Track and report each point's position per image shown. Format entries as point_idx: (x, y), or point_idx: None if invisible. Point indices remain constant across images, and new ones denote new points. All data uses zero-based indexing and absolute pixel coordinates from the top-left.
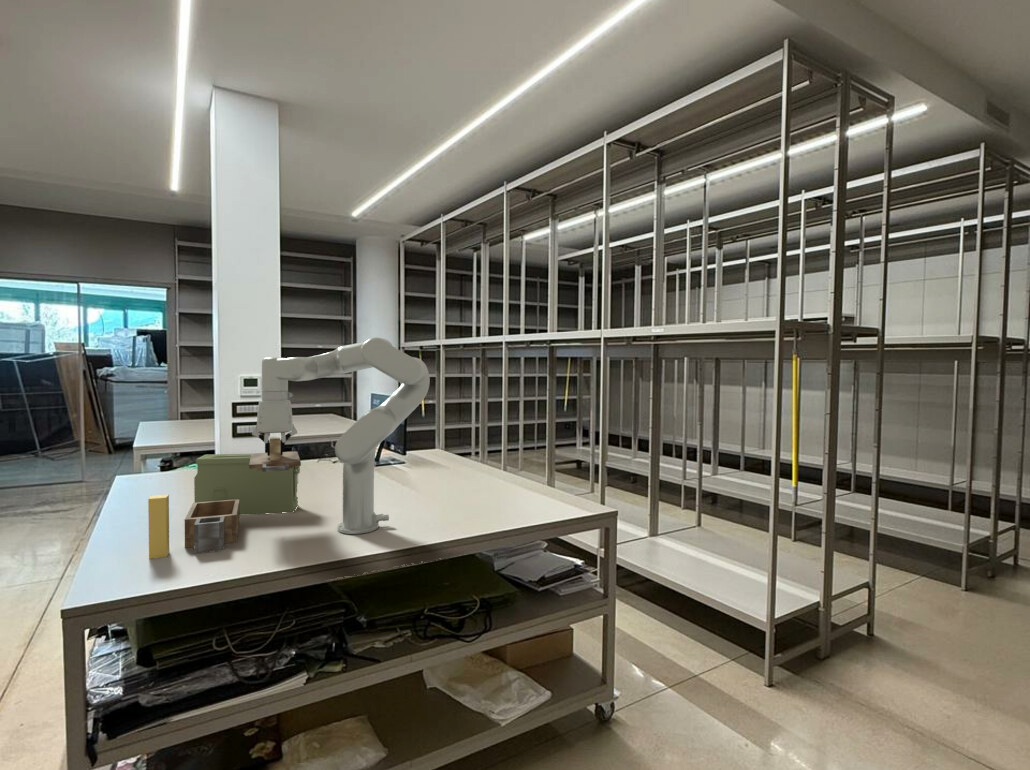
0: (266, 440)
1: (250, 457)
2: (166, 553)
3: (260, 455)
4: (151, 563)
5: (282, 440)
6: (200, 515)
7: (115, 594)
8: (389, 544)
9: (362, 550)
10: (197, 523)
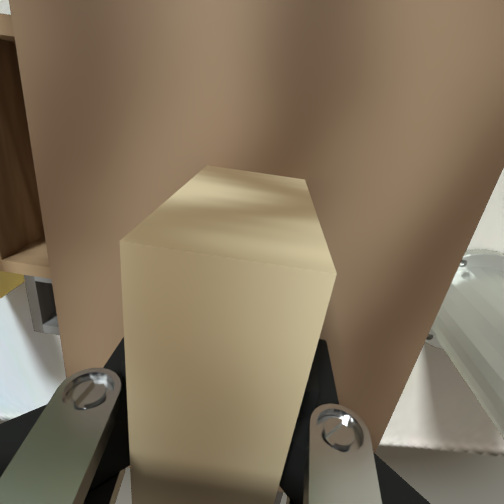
0: (97, 483)
1: (41, 212)
2: (21, 283)
3: (119, 130)
4: (11, 304)
5: (297, 499)
6: (7, 39)
7: (10, 404)
8: (452, 422)
9: (388, 424)
10: (39, 323)
